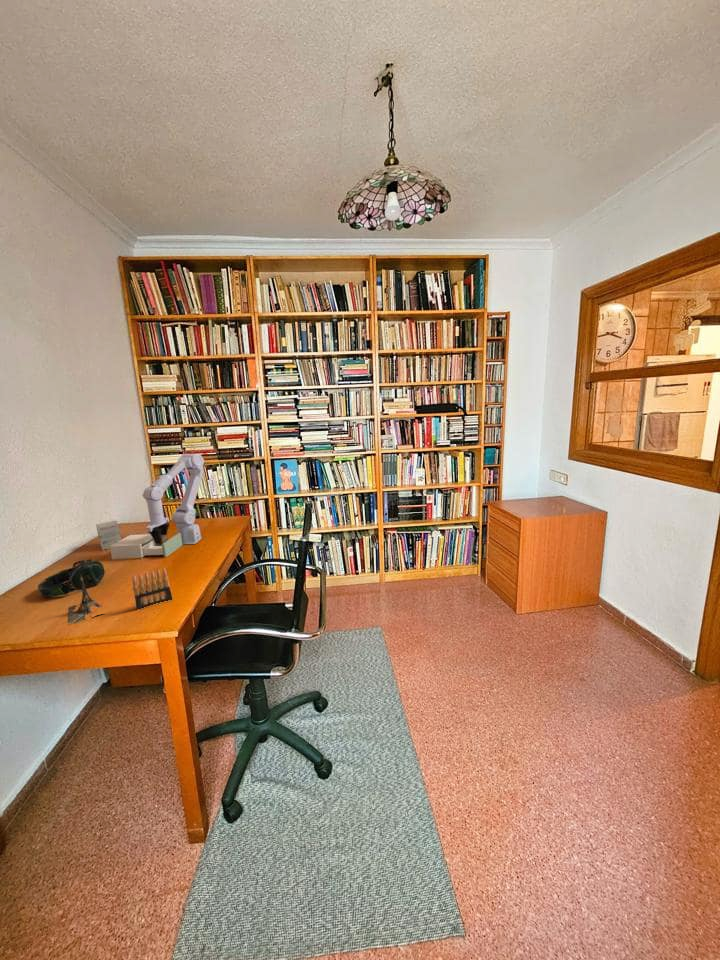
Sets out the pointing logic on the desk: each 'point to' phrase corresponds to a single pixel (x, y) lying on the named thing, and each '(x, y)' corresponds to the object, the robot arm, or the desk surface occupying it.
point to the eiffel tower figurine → (81, 606)
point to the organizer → (130, 546)
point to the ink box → (108, 533)
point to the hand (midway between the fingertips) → (161, 541)
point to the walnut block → (162, 540)
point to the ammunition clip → (151, 589)
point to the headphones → (72, 578)
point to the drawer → (163, 546)
